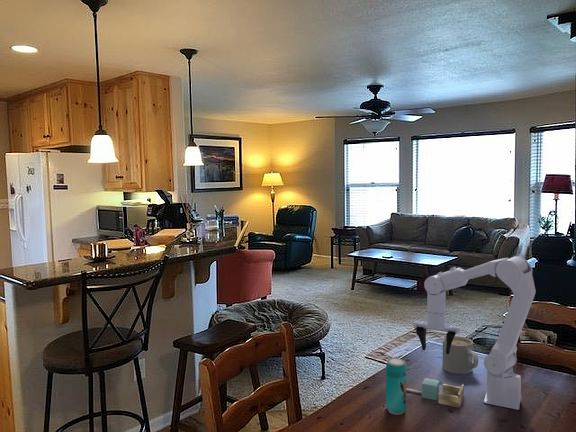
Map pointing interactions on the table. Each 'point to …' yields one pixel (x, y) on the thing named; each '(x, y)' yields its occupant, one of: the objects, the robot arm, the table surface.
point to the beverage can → (396, 386)
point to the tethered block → (428, 389)
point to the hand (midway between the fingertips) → (435, 351)
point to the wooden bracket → (451, 395)
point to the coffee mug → (459, 356)
